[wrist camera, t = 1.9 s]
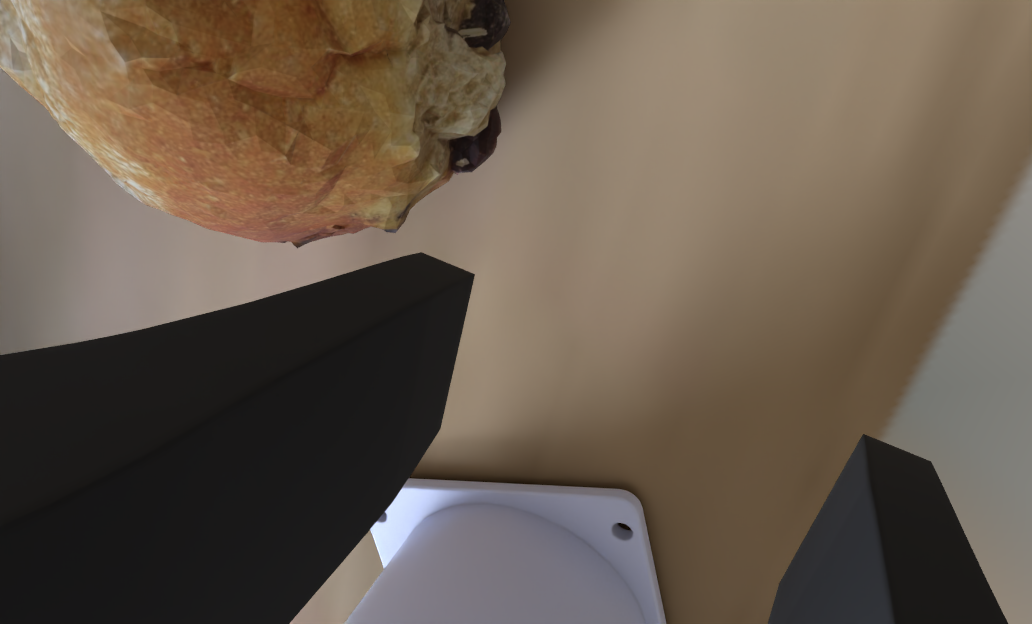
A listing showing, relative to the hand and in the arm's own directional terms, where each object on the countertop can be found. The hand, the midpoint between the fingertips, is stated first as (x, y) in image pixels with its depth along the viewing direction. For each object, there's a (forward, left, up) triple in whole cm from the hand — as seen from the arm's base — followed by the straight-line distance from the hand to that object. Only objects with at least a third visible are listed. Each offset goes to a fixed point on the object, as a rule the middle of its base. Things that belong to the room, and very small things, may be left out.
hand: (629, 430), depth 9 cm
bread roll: (+5, +9, -10) cm, 14 cm away
